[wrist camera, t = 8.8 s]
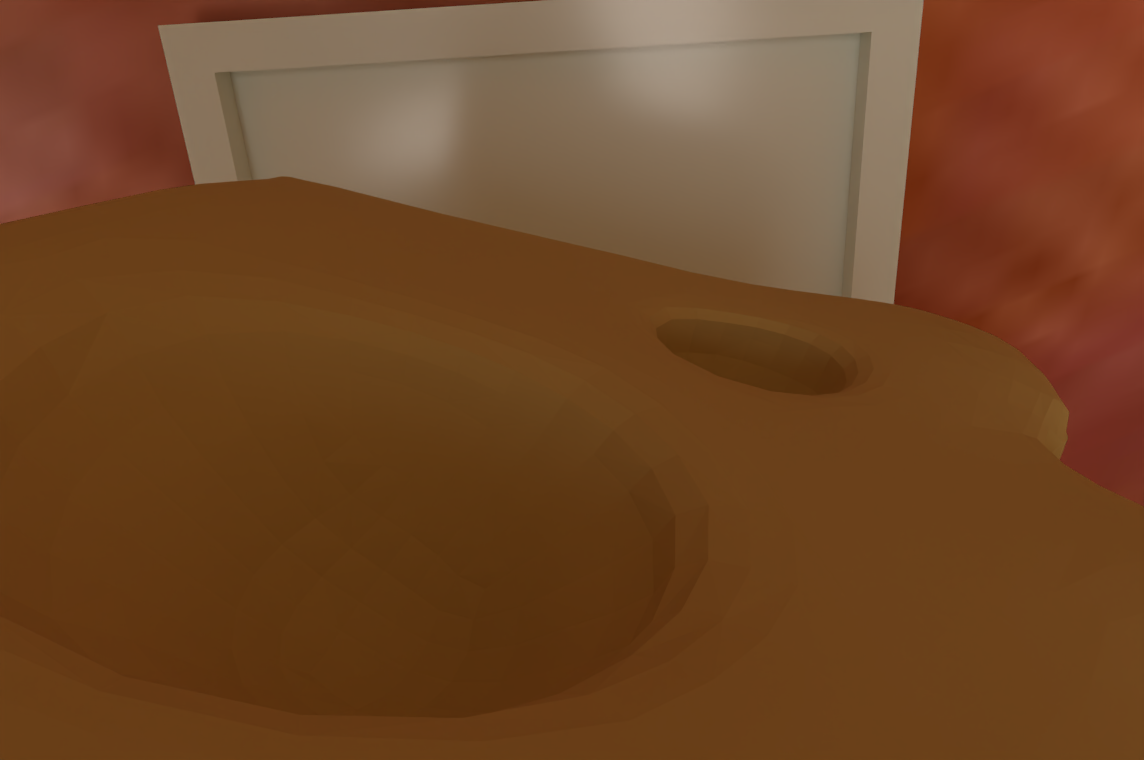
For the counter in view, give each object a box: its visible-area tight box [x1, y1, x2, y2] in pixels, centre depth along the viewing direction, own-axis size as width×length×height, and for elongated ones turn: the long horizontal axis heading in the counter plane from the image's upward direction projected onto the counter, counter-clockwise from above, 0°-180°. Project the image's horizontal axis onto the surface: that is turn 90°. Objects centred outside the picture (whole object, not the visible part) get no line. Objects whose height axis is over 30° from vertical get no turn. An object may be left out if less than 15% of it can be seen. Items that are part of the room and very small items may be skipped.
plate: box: [158, 0, 924, 304], centre depth 21 cm, size 16×16×2 cm
